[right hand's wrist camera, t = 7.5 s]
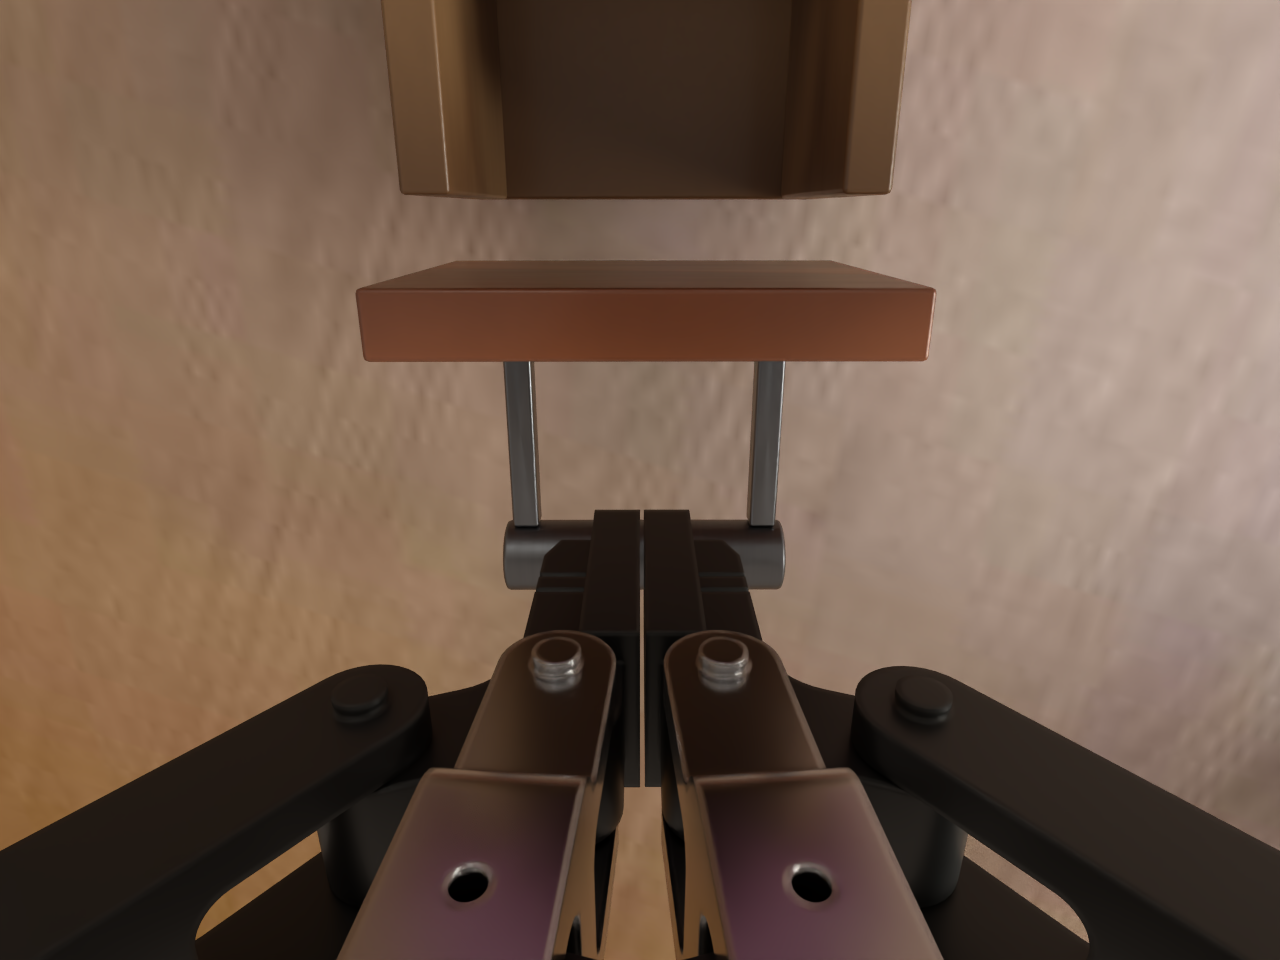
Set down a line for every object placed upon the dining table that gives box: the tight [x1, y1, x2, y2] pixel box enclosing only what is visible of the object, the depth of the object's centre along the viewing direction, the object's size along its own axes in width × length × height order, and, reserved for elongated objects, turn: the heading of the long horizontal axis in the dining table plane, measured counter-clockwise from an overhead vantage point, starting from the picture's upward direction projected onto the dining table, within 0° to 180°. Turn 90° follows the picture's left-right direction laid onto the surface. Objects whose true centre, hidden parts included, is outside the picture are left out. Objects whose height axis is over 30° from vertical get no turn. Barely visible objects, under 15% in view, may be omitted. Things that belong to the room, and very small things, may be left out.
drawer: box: [356, 0, 936, 590], centre depth 14 cm, size 24×10×7 cm, turn 0°
